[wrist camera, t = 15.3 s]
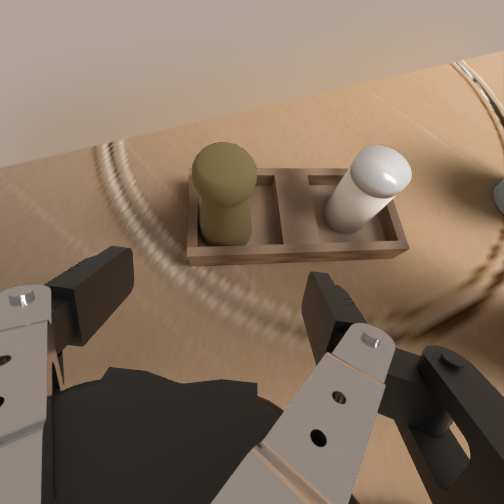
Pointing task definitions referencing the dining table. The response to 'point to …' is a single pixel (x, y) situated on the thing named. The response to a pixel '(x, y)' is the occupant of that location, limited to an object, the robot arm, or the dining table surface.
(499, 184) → the teal cup
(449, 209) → the dining table surface
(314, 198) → the cruet caddy
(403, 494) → the dining table surface
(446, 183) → the dining table surface
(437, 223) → the dining table surface
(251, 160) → the olive mushroom knob
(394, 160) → the salt shaker
